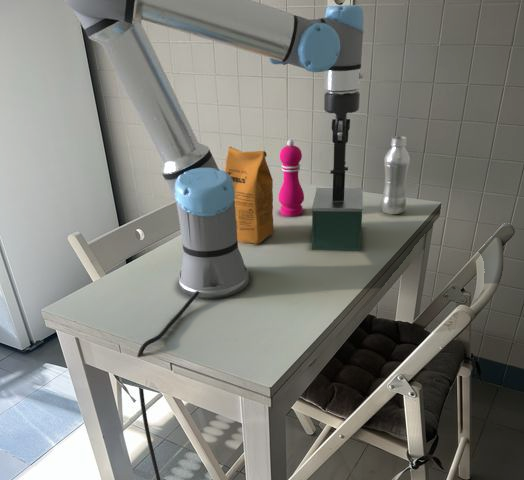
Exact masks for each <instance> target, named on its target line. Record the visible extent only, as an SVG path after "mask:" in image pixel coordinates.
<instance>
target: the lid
mask: <svg viewBox="0 0 524 480" xmlns="http://www.w3.org/2000/svg"><path fill="white" fill-rule="evenodd" d="M363 192H364V188H363V187H345V188H344V201H332V197H333V187H316V190H315V195H314V198H313V203H312V206H311V212H312V211H338V212H362V213H363V209H364V208H363V206H364V197H363V195H364V193H363Z"/></svg>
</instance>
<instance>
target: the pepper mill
mask: <svg viewBox="0 0 524 480" xmlns="http://www.w3.org/2000/svg"><path fill="white" fill-rule="evenodd" d="M286 144H287V145H285V146H284V147H282V148H281V150H280V152H279V161H280V162H281V163H282V164H281V171H282V172H283V181H282V185H281V187H280V189H279V192H278V202H279V203H280V214H281V215H282V216H284V217H297V216H300V215H302V214H303V205H302V203H303V202H304V201H305V193H304V190H303V188H302V185H301V182H300V179H299V171H300V170H301V168H300V167H301V164H300V162H301V161H302V159H303V153H302V150H301V149H300V147H298V146H296V145H295V142H294V140H293V139H288V140H287V141H286Z"/></svg>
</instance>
